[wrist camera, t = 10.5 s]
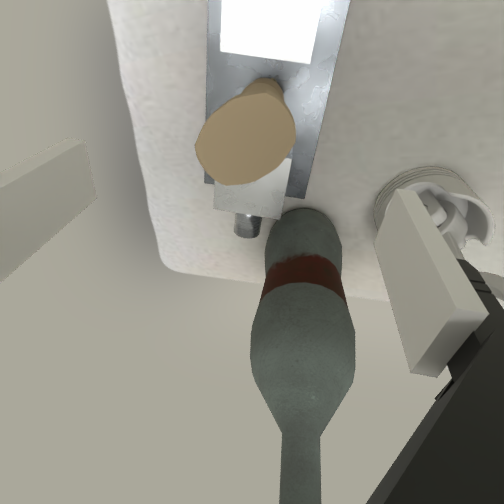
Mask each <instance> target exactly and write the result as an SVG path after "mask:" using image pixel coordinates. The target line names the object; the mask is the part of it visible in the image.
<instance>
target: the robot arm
mask: <svg viewBox="0 0 504 504" xmlns="http://www.w3.org/2000/svg"><path fill="white" fill-rule="evenodd" d="M96 199H97V196H96V191H95V186H94V182H93V177H92V172H91V167H90V163H89V158H88V153H87V149H86V144H85V141H84V140H79V139H72V138H66V139H64V140H62V141H60V142H58V143H57V144H55V145H53V146H51V147H49V148H47V149H45V150H43V151H41V152H39V153H37V154H35V155H33V156H31V157H29V158H27V159H25V160H23V161H22V162H20V163H18V164H16V165H14V166H12V167H10V168H8V169H6V170H4V171H2V172H0V283H1V282H2V281H3V280H4V279H5V278H7V277H8V276H9V275H10V274H11V273H12V272H13V271H15V270H16V269H17V268H18V267H19V266H20V265H21V264H23V263H24V262H25V261H26V260H27V259H28V258H29V257H31V256H32V255H33V254H34V253H35V252H36V251H37V250H39V249H40V248H41V247H42V246H43V245H44V244H45V243H46V242H48V241H49V240H50V239H51V238H52V237H53V236H54V235H55V234H57V233H58V232H59V231H60V230H61V229H63V228H64V227H65V226H66V225H67V224H68V223H69V222H70V221H72V220H73V219H74V218H75V217H76V216H77V215H78V214H80V213H81V212H82V211H83V210H84V209H85V208H87V207H88V206H89V205H90V204H91V203H92V202H93V201H95V200H96ZM374 247H375V250H376V254H377V257H378V261H379V264H380V268H381V271H382V275H383V278H384V282H385V285H386V289H387V292H388V296H389V299H390V303H391V306H392V310H393V313H394V317H395V320H396V324H397V327H398V331H399V334H400V338H401V341H402V345H403V348H404V352H405V355H406V358H407V362H408V366H409V369H410V372H411V373H415V374H420V375H426V376H431V377H436V378H437V377H438V376H439V375H440V373H441V372H442V371H443V370H444V368H445V367H446V366H448V369H449V371H450V373H451V376H452V379H451V380H450V381H449V383H448V384H447V385H446V386H445V387H444V388H443V389H442V391H441V392H440V393H439V394H438V395H437V396H436V397H435V399H436V401H435V403H434V404H433V406H432V407H431V409H430V410H429V412H428V413H427V414H426V416H425V417H424V419H423V420H422V422H421V423H420V425H419V426H418V428H417V429H416V431H415V432H414V433H413V435H412V436H411V438H410V439H409V441H408V442H407V444H406V445H405V447H404V448H403V450H402V451H401V453H400V454H399V456H398V457H397V459H396V460H395V461H394V463H393V464H392V466H391V468H390V469H389V470H388V472H387V474H386V475H385V476H384V478H383V479H382V481H381V482H380V484H379V485H378V487H377V488H376V490H375V491H374V492H373V494H372V496H371V497H370V498H369V500H368V501H367V503H366V504H504V309H503V308H502V306H501V305H500V303H499V302H498V300H497V299H496V297H495V296H494V294H492V291H491V290H490V288H489V287H488V285H487V284H485V283H486V282H485V281H484V279H483V278H482V276H481V274H480V273H479V271H478V270H477V269H475V268H474V267H473V266H472V265H471V264H469V263H468V262H467V261H466V260H463V259H457V258H455V256H454V255H453V253H452V251H451V250H450V248H449V246H448V245H447V243H446V241H445V240H444V238H443V236H442V235H441V233H440V231H439V230H438V228H437V226H436V225H435V223H434V222H433V220H432V218H431V217H430V215H429V213H428V212H427V210H426V208H425V207H424V205H423V203H422V202H421V200H420V198H419V197H418V195H417V193H416V192H415V191H410V190H403V189H397V188H396V190H395V192H394V195H393V197H392V200H391V202H390V205H389V207H388V209H387V212H386V214H385V217H384V219H383V222H382V224H381V227H380V229H379V231H378V234H377V236H376V239H375V241H374Z"/></svg>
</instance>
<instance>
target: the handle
mask: <svg viewBox="0 0 504 504" xmlns="http://www.w3.org/2000/svg"><path fill="white" fill-rule="evenodd" d="M295 141H296V126H295V122H294V119H293V116H292V114H291V112H290V110H289V108H288V107H287V105H286V104H285V102H284V95H283V91H282V89H281V87H280V86H279V85H278V84H277V81H276V79H274V78H271V79H269V78H258V79H256V80H255V81H253V82H252V83H250V84H249V85H248V86H247V87H246V88H245V89H244V90H243V91H242V93H241V94H240V95H236V96H234V97H233V98H231V99H230V100H228V101H227V102H226V103H224V104H223V105H222V106H221V107H219V108H218V109H217V110H216V111H214V112H213V113H212V114H211V116H210V117H209V118H208V119H207V121H206V122H205V124H204V126H203V128H202V130H201V132H200V134H199V136H198V139H197V141H196V143H195V151H196V155H197V158H198V160H199V162H200V164H201V165H202V167H203V168H204V170H205V171H206V172H207V173H208V174H209V175H210V176H211V177H212V178H213V179H214V180H215V181H217V182H219V183H221V184H223V185H225V186H230V185H240V184H247V183H251V182H254V181H256V180H258V179H260V178H262V177H264V176H265V175H267V174H269V173H270V172H272V171H273V170H275V169H276V168H277V167H278V166H279V165H280V164H281V163H282V162H283V161H284V159H285V158H286V156H287V155H288V153H289V152H290V150H291V149H292V147H293V145H294V144H295Z"/></svg>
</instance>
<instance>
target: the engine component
mask: <svg viewBox="0 0 504 504" xmlns="http://www.w3.org/2000/svg"><path fill="white" fill-rule="evenodd" d="M396 188H397V189H403V190H410V191H415V192H416V193H417V195H418V197H419V198H420V200H421V202H422V203H423V205H424V207H425V208H426V210H427V212H428V213H429V215H430V217H431V218H432V220H433V222H434V223H435V225H436V226H437V228H438V230H439V231H440V233H441V235H442V236H443V238H444V240H445V241H446V243H447V245H448V246H449V248H450V250H451V251H452V253H453V255H454V256H455V258H457V259H463V260H465V259H464V257H463V255H462V253H461V249H462V248H463V247H464V246H465V245H466V241H468V240H471V239H477V240H479V241H481V243H482V244H483V245H485V246H487V245H489V244H490V242H491V241H492V238H493V235H494V232H495V220H494V217H493V214H492V212H491V211H490V209H489V208H488V207H487V206H486V205H485V204H484V203H483V201H482V200H481V199H480V198H479V197H478V196H477V195H476V194H475V193H474V192H473V191H472V190H471V189H470V188H469V187H468V185H467V184H466V183H465V182H464V181H463V180H462V179H461V178H460V177H459V176H458V175H457V174H455V173H454V172H452V171H449V170H447V169H444V168H439V167H422V168H418V169H414V170H410V171H408V172H406V173H403V174H401V175H400V176H398V177H396V178H395V179H394V180H392V181H391V182H390V183H389V184H388V185H387V186H386V187H385V188H384V189H383V190H382V191H381V193H380V194H379V196H378V198H377V200H376V203H375V207H374V220H375V223H376V227H377V230H378V231H379V229H380V227H381V224H382V222H383V219H384V217H385V214H386V212H387V209H388V207H389V205H390V202H391V200H392V197H393V195H394V192H395V190H396ZM479 273H480V274H481V276H482V278H483V279H484V281H485V282H486V283H485V284H487V285H488V287H489V288H490V290H491V291H492V294H494V296H495V297H497V298H499V299H501V300H503V301H504V278H503V277H501V276H499V275H496V274H492V273H487V272H479ZM445 368H446V369H448V366H446V367H445ZM448 370H449V369H448Z"/></svg>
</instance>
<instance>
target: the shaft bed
mask: <svg viewBox="0 0 504 504" xmlns="http://www.w3.org/2000/svg"><path fill="white" fill-rule="evenodd" d="M349 4H350V0H208V23H207V75H206V121H207V119H208V118H209V117H210V116H211V114H212V113H213V112H214V111H216V110H217V109H218V108H219V107H221V106H222V105H223V104H224V103H226V102H227V101H228V100H230V99H231V98H233V97H234V96H236V95H240V94H241V93H242V91H243V90H244V89H245V88H246V87H247V86H248V85H249V84H250V83H252V82H253V81H255V80H256V79H258V78H269V79H271V78H274V79H276V81H277V84H278V85H279V86H280V87H281V89H282V91H283V95H284V102H285V104H286V105H287V107H288V108H289V110H290V112H291V114H292V116H293V119H294V122H295V126H296V141H295V144H294V145H293V147H292V149H291V150H290V152H289V153H288V155H287V156H286V158H285V159H284V161H283V162H282V163H281V164H280V165H279V166H278V167H277V168H276V169H275V170H273V171H272V172H270V173H269V174H267V175H265V176H264V177H262V178H260V179H258V180H256V181H254V182H251V183H247V184H240V185H230V186H225V185H223V184H221V183H219V182H217V181H215V180H214V179H213V178H212V177H211V176H210V175H209V174H208V173H207V172H206V171H205V178H204V183H208V184H214V185H215V186H214V209H217V210H223V211H229V212H235V213H236V214H235V225H234V232H235V233H236V234H237V235H238V236H240V237H243V238H254V237H257V236H258V235H259V233H260V227H261V220H262V217H266V218H272V219H278V220H280V219H281V214H282V209H283V203H284V198H285V196H289V197H295V198H301V199H304V198H305V193H306V189H307V185H308V180H309V176H310V172H311V167H312V163H313V159H314V154H315V150H316V146H317V142H318V137H319V133H320V129H321V124H322V120H323V116H324V111H325V107H326V103H327V98H328V94H329V90H330V86H331V81H332V77H333V73H334V68H335V64H336V60H337V55H338V51H339V47H340V43H341V38H342V34H343V30H344V25H345V21H346V17H347V12H348V8H349Z"/></svg>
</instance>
